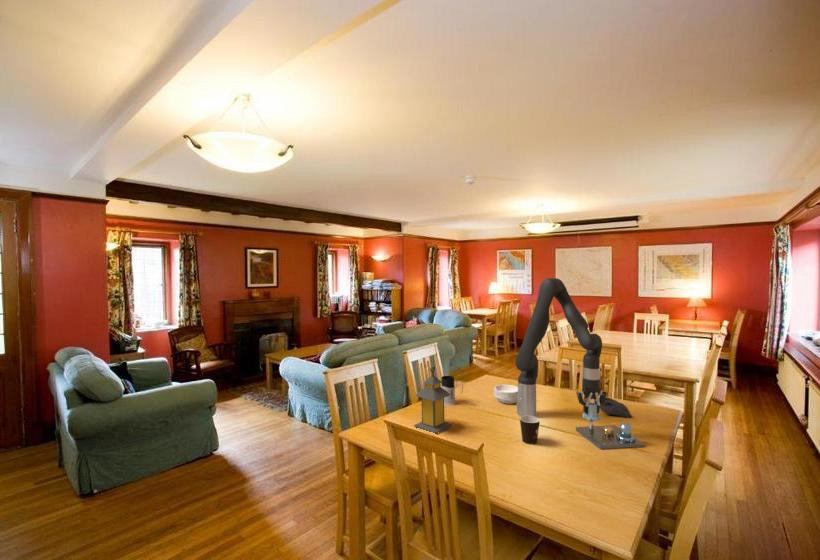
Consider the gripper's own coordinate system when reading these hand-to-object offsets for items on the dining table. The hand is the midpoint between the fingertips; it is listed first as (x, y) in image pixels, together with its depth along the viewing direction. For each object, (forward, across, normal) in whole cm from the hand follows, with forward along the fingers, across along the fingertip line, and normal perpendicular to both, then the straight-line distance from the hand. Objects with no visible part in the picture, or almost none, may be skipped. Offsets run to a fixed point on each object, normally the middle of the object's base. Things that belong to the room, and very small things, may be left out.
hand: (591, 413), depth 180 cm
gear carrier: (+10, +5, -5) cm, 12 cm away
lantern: (+10, -72, +18) cm, 75 cm away
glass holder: (+10, -56, +49) cm, 75 cm away
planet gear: (+2, 0, 0) cm, 2 cm away
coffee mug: (+10, -30, -3) cm, 32 cm away
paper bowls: (+10, -23, +49) cm, 55 cm away
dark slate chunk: (+11, +29, +28) cm, 42 cm away
